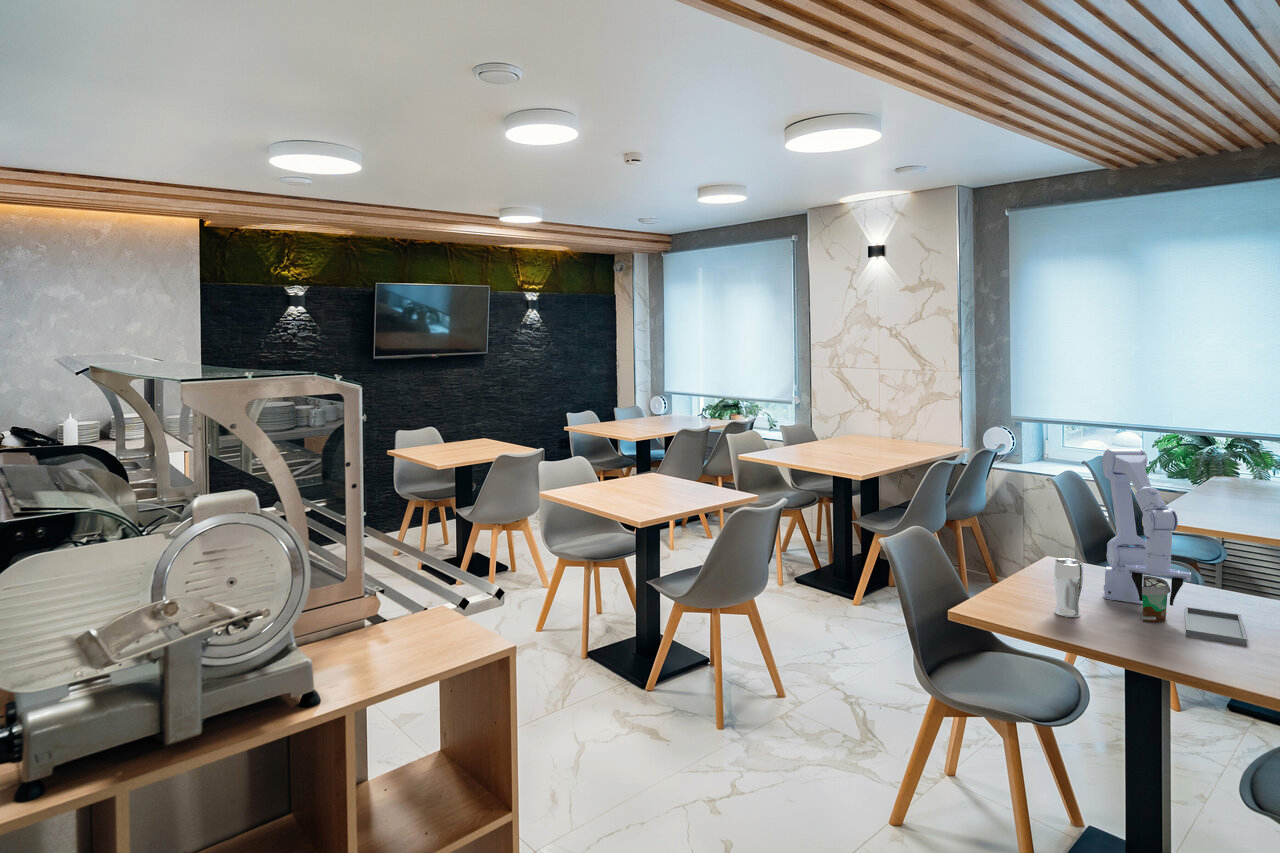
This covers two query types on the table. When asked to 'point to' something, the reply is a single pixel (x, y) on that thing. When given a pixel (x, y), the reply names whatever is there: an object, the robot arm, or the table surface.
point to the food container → (1154, 599)
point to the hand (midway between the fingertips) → (1155, 602)
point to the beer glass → (1068, 586)
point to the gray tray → (1214, 625)
